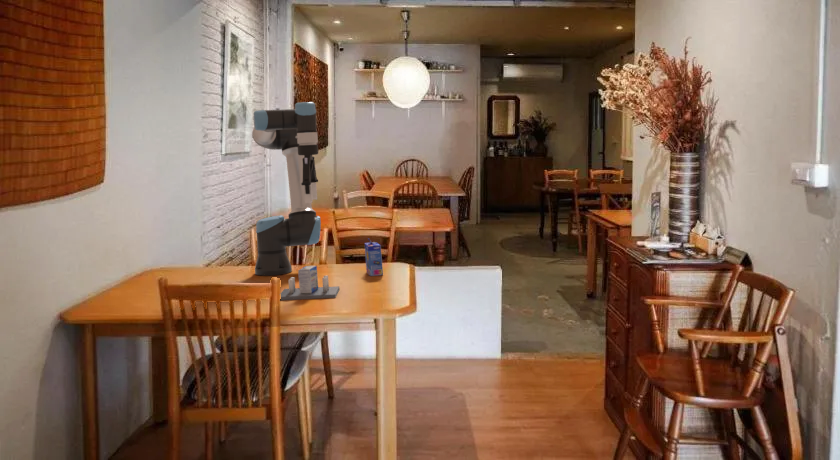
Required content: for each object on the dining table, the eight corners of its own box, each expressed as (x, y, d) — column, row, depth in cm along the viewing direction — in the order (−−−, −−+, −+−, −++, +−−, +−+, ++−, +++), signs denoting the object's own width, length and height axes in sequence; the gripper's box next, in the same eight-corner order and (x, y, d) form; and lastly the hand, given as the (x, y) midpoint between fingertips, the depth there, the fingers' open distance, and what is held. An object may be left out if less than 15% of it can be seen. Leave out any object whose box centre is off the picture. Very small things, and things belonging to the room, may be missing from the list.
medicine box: (311, 293, 273) (310, 269, 272) (299, 293, 274) (297, 269, 273) (318, 289, 281) (317, 265, 280) (306, 289, 282) (305, 265, 281)
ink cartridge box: (365, 272, 318) (363, 237, 316) (378, 271, 319) (377, 236, 317) (369, 276, 308) (367, 240, 306) (383, 275, 309) (381, 239, 307)
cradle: (284, 292, 285) (283, 275, 284) (339, 289, 285) (338, 272, 284) (277, 300, 271) (276, 282, 270) (335, 297, 271) (334, 280, 270)
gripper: (302, 144, 302) (306, 198, 305) (292, 145, 278) (296, 204, 280) (321, 143, 302) (325, 197, 305) (313, 144, 277) (316, 203, 280)
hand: (311, 201), depth 293 cm, fingers open, 13 cm apart
